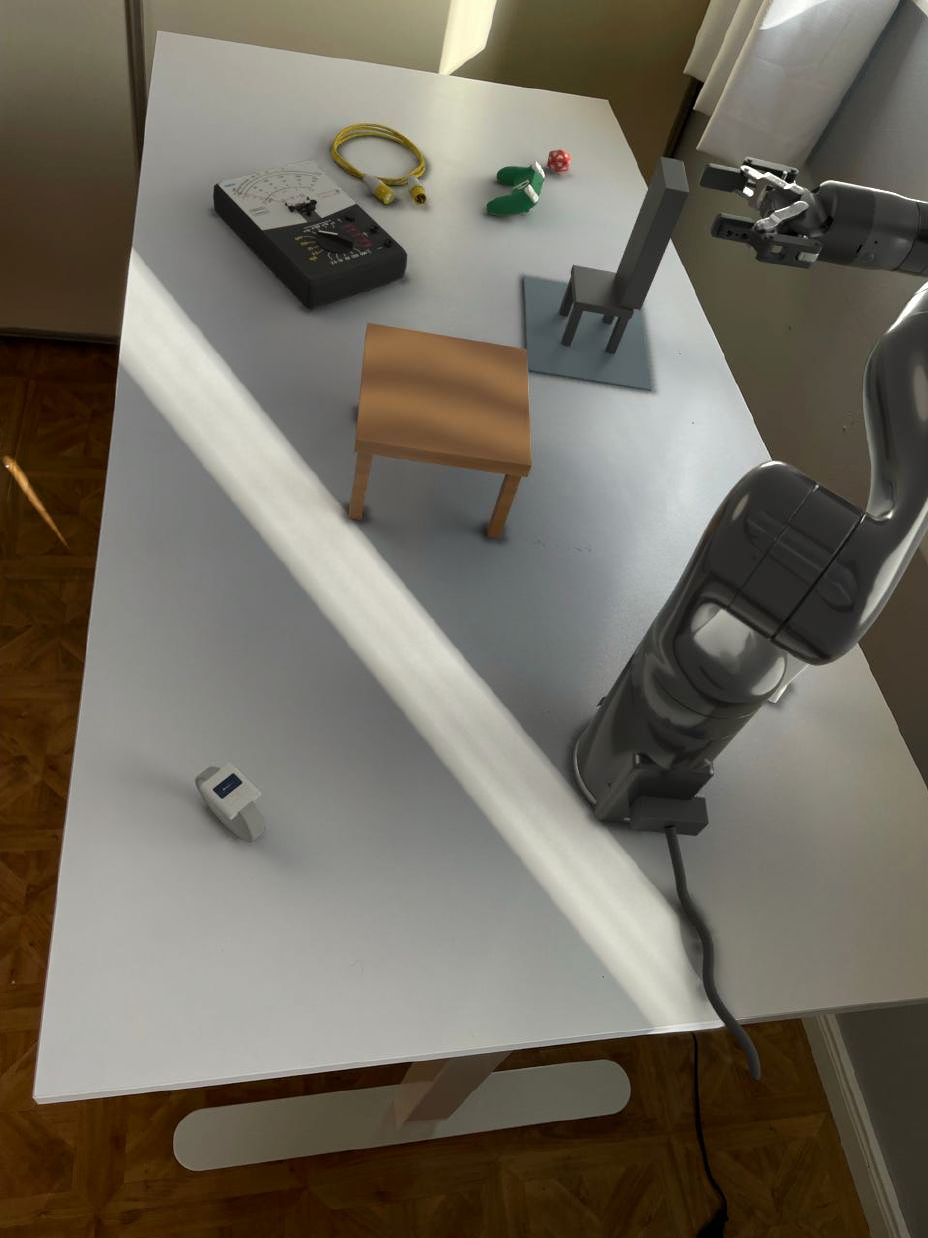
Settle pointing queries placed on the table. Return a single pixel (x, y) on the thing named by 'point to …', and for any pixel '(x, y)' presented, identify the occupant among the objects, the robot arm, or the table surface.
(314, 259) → the multimeter
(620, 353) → the mat
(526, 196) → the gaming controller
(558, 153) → the die
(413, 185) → the extension cord
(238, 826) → the wristwatch
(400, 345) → the side table
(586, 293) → the chair
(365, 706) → the table surface
